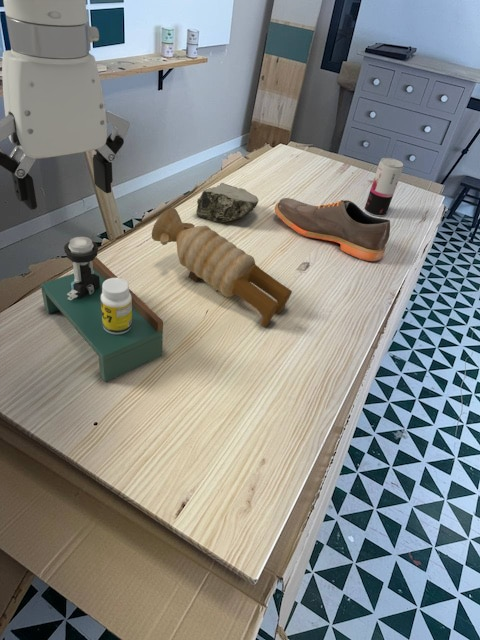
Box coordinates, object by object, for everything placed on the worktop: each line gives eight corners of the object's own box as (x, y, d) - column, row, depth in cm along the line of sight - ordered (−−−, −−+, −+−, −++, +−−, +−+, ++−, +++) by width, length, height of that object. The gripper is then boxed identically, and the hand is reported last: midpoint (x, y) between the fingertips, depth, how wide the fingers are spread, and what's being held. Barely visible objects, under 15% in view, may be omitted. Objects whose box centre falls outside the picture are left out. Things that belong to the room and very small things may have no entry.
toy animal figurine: (279, 319, 99) (173, 243, 106) (301, 277, 91) (184, 198, 97) (255, 343, 92) (143, 260, 99) (276, 301, 84) (152, 213, 91)
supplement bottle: (97, 321, 77) (94, 280, 72) (124, 313, 80) (122, 272, 74) (110, 339, 74) (108, 297, 69) (137, 329, 77) (136, 288, 71)
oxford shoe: (283, 208, 131) (291, 169, 124) (388, 249, 121) (404, 209, 114) (265, 222, 124) (272, 182, 116) (375, 267, 114) (391, 226, 106)
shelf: (105, 382, 75) (102, 346, 70) (45, 309, 87) (38, 274, 81) (162, 355, 81) (163, 321, 76) (99, 290, 93) (96, 257, 88)
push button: (80, 307, 79) (74, 258, 73) (57, 295, 81) (49, 246, 74) (107, 289, 84) (104, 241, 77) (85, 278, 85) (80, 230, 79)
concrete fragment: (209, 187, 130) (256, 168, 123) (221, 223, 132) (268, 207, 125) (183, 193, 117) (234, 172, 110) (197, 233, 120) (248, 215, 112)
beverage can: (362, 212, 136) (378, 162, 127) (366, 204, 141) (382, 155, 131) (384, 219, 135) (402, 169, 125) (387, 210, 140) (405, 161, 130)
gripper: (107, 31, 54) (114, 173, 65) (-57, 31, 44) (-17, 198, 55) (143, 47, 50) (143, 195, 61) (-29, 50, 40) (8, 226, 51)
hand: (67, 196), depth 58 cm, fingers open, 9 cm apart
